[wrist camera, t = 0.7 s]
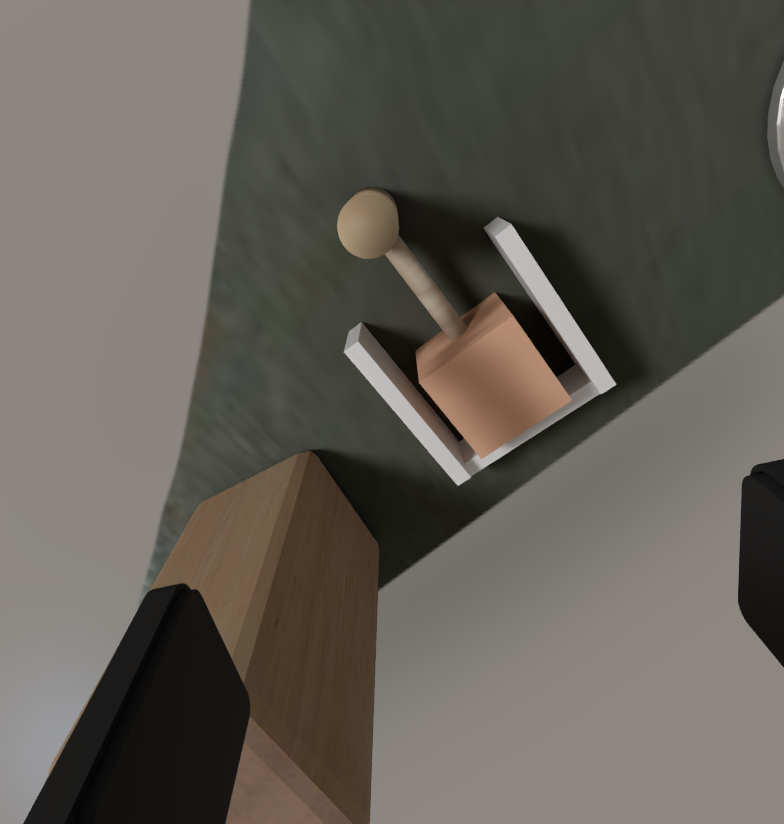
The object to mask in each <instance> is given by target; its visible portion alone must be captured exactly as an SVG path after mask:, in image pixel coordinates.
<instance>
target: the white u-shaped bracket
mask: <svg viewBox="0 0 784 824" xmlns="http://www.w3.org/2000/svg"><path fill="white" fill-rule="evenodd" d="M483 229H484V230H485V232H486V233H487V234H488V236H489V237H490V239H491V240H492V242H493V243H494V245H495V246H496V248H497V249H498V251H499V252H500V254H501V255H502V257H503V258H504V260H505V261H506V263H507V264H508V266H509V267H510V268H511V270H512V271H513V273H514V274H515V276H516V277H517V279H518V280H519V282H520V283H521V285H522V286H523V288H524V289H525V291H526V292H527V294H528V295H529V297H530V298H531V299H532V301H533V302H534V304H535V305H536V307H537V308H538V310H539V311H540V313H541V314H542V316H543V317H544V319H545V320H546V322H547V323H548V325H549V326H550V328H551V329H552V331H553V332H554V333H555V335H556V336H557V338H558V339H559V341H560V342H561V344H562V345H563V347H564V348H565V350H566V351H567V353H568V354H569V356H570V357H571V359H572V360H573V362H574V363H575V364H576V365H574V366H573V367H571V368H570V369H568V370H567V371H565V372H564V373H562V374H561V375H559V376H558V377H556V378H557V379H558V381H559V382H560V383H561V385H562V386H563V388H564V389H565V391H566V392H567V394H568V395H569V396H570V398H571V399H572V401H571V402H569V403H568V404H566V405H565V406H563V407H562V408H560V409H558V410H557V411H555V412H554V413H552V414H551V415H549V416H548V417H546V418H545V419H543V420H541V421H540V422H538V423H537V424H535V425H534V426H532V427H531V428H529V429H527V430H526V431H524V432H523V433H521V434H520V435H518V436H517V437H515V438H514V439H512V440H510V441H509V442H507V443H506V444H504V445H503V446H501V447H500V448H498V449H496V450H495V451H493V452H492V453H490V454H489V455H487V456H486V457H484V458H483V459H481V458H480V457H479V456H478V454H477V453H476V452H475V451H474V450H473V448H472V447H471V446H470V445H469V443H468V442H467V441H466V440H465V438H464V439H463V440H461V441H460V442H459V440H458V439H457V438H456V437H455V436H454V434H453V433H452V432H451V431H450V429H449V428H448V427H447V426H446V425H445V423H444V422H443V421H442V420H441V418H440V417H439V416H438V415H437V414H436V412H435V411H434V410H433V409H432V407H431V406H430V405H429V404H428V403H427V401H426V400H425V399H424V398H423V396H422V395H421V394H420V393H419V392H418V390H417V389H416V388H415V387H414V385H413V384H412V383H411V382H410V381H409V379H408V378H407V377H406V376H405V374H404V373H403V372H402V371H401V370H400V368H399V367H398V366H397V365H396V363H395V362H394V361H393V360H392V359H391V357H390V356H389V355H388V354H387V352H386V351H385V350H384V349H383V348H382V346H381V345H380V344H379V343H378V341H377V340H376V339H375V338H374V337H373V335H372V334H371V333H370V332H369V330H368V329H367V328H366V327H365V326H364V324H363V323H362V322H361V323H360V324H358V325H357V326H356V327H354V328H353V329H352V330H351V331H349V334H348V338H347V342H346V346H345V350H344V353H345V354H346V355H347V356H348V357H349V359H350V360H351V361H352V362H353V363H354V364H355V366H356V367H357V368H358V369H359V370H360V371H361V373H362V374H363V375H364V376H365V377H366V378H367V380H368V381H369V382H370V383H371V384H372V386H373V387H374V388H375V389H376V390H377V391H378V393H379V394H380V395H381V396H382V397H383V398H384V400H385V401H386V402H387V403H388V404H389V406H390V407H391V408H392V409H393V410H394V411H395V413H396V414H397V415H398V416H399V417H400V418H401V420H402V421H403V422H404V423H405V424H406V426H407V427H408V428H409V429H410V430H411V431H412V433H413V434H414V435H415V436H416V437H417V438H418V440H419V441H420V442H421V443H422V444H423V446H424V447H425V448H426V449H427V450H428V451H429V453H430V454H431V455H432V456H433V457H434V458H435V460H436V461H437V462H438V463H439V464H440V465H441V467H442V468H443V469H444V470H445V471H446V473H447V474H448V475H449V476H450V477H451V478H452V480H453V481H454V482H455V483H456V484H457V485H458V486H459V485H460V484H462V483H463V482H465V481H466V480H468V479H470V478H471V476H472V475H474V474H475V473H477V472H479V471H480V470H482V469H483V468H485V467H486V466H488V465H489V464H491V463H493V462H494V461H496V460H497V459H499V458H500V457H502V456H504V455H505V454H507V453H508V452H510V451H511V450H513V449H514V448H516V447H518V446H519V445H521V444H522V443H524V442H525V441H527V440H529V439H530V438H532V437H533V436H535V435H536V434H538V433H539V432H541V431H543V430H544V429H546V428H547V427H549V426H550V425H552V424H554V423H555V422H557V421H558V420H560V419H561V418H563V417H564V416H566V415H568V414H569V413H571V412H572V411H574V410H575V409H577V408H579V407H580V406H582V405H583V404H585V403H586V402H588V401H589V400H591V399H593V398H594V397H596V396H597V395H599V394H603V393H604V392H606V391H607V390H609V389H610V388H612V387H613V386H615V385H616V383H615V382H614V380H613V378H612V377H611V375H610V374H609V372H608V371H607V369H606V368H605V366H604V365H603V363H602V362H601V360H600V359H599V357H598V356H597V354H596V353H595V351H594V349H593V348H592V346H591V345H590V343H589V342H588V340H587V339H586V337H585V336H584V334H583V333H582V331H581V330H580V328H579V327H578V325H577V324H576V322H575V320H574V319H573V317H572V316H571V314H570V313H569V311H568V310H567V308H566V307H565V305H564V304H563V302H562V301H561V299H560V298H559V296H558V295H557V293H556V291H555V290H554V288H553V287H552V285H551V284H550V282H549V281H548V279H547V278H546V276H545V275H544V273H543V272H542V270H541V269H540V267H539V266H538V264H537V262H536V261H535V259H534V258H533V256H532V255H531V253H530V252H529V250H528V249H527V247H526V246H525V244H524V243H523V241H522V240H521V238H520V237H519V235H518V233H517V232H516V230H515V229H514V227H513V226H512V224H510V223H508V222H507V221H505V220H503V219H501V218H499V217H497V218H495V219H494V220H493V221H492V222H490V223H489V224H488V225H486V226H485V227H484V228H483Z"/></svg>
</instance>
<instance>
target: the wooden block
mask: <svg viewBox="0 0 784 824" xmlns="http://www.w3.org/2000/svg"><path fill="white" fill-rule="evenodd" d="M378 575H379V547H378V543H377V542H376V540H375V539H374V537H373V536H372V534H371V533H370V532H369V530H368V529H367V527H366V526H365V524H364V523H363V521H362V520H361V519H360V517H359V516H358V514H357V513H356V511H355V510H354V508H353V507H352V506H351V504H350V503H349V501H348V500H347V498H346V497H345V495H344V494H343V493H342V491H341V490H340V488H339V487H338V485H337V484H336V482H335V481H334V480H333V478H332V477H331V475H330V474H329V472H328V471H327V469H326V468H325V467H324V465H323V464H322V462H321V461H320V459H319V458H318V457H317V455H315V454H314V453H313V452H311V451H304V452H301V453H298V454H296V455H294V456H292V457H290V458H288V459H286V460H284V461H282V462H280V463H278V464H276V465H274V466H272V467H270V468H268V469H267V470H265V471H263V472H261V473H259V474H257V475H255V476H253V477H251V478H249V479H247V480H245V481H243V482H241V483H239V484H237V485H235V486H233V487H231V488H229V489H227V490H225V491H223V492H221V493H219V494H217V495H215V496H213V497H211V498H209V499H207V500H205V501H203V502H201V503H200V505H199V506H198V507H197V509H196V510H195V512H194V513H193V515H192V517H191V519H190V521H189V522H188V524H187V526H186V528H185V529H184V531H183V533H182V535H181V536H180V538H179V540H178V542H177V544H176V545H175V547H174V549H173V551H172V552H171V554H170V556H169V558H168V559H167V561H166V563H165V565H164V567H163V568H162V570H161V572H160V574H159V575H158V577H157V579H156V581H155V582H154V584H153V586H152V588H151V589H150V590H152V589H156V588H160V587H165V586H170V585H175V584H180V583H185V584H187V585H188V586H189V587H190V589H191V590H193V589H197V590H198V591H199V592H200V593H201V595H202V597H203V599H204V601H205V603H206V605H207V608H208V610H209V612H210V614H211V616H212V618H213V620H214V622H215V624H216V627H217V629H218V631H219V633H220V635H221V637H222V639H223V641H224V643H225V646H226V648H227V650H228V652H229V654H230V656H231V658H232V660H233V662H234V665H235V667H236V669H237V671H238V673H239V675H240V677H241V679H242V681H243V684H244V686H245V688H246V690H247V692H248V695H249V699H250V718H249V722H248V727H247V731H246V735H245V740H244V744H243V749H242V753H241V757H240V762H239V766H238V771H237V775H236V779H235V784H234V788H233V793H232V797H231V801H230V806H229V810H228V814H227V819H226V823H225V824H369V823H370V801H371V799H370V798H371V773H372V772H371V770H372V745H373V744H372V743H373V717H374V688H375V660H376V631H377V602H378ZM115 652H116V651H115ZM114 654H115V653H114ZM111 659H112V658H111ZM110 661H111V660H110ZM109 663H110V662H109ZM108 665H109V664H108ZM108 665H107V667H108ZM107 667H106V668H107ZM105 670H106V669H105ZM104 672H105V671H104ZM103 674H104V673H103ZM103 674H102V676H103ZM101 678H102V677H101ZM101 678H100V680H101ZM100 680H99V682H100ZM99 682H98V683H99ZM98 683H97V685H98ZM97 685H96V687H97ZM96 687H95V689H96ZM95 689H94V691H95ZM94 691H93V692H92V694H91V696H92V695H93V693H94ZM91 696H90V697H89V699H88V701H87V703H86V704H85V706H84V708H83V710H82V712H81V713H80V715H79V717H78V718H77V720H76V722H75V724H74V726H73V727H72V729H71V731H70V733H69V735H68V736H67V738H66V740H65V742H64V743H63V745H62V747H61V749H60V750H59V752H58V754H57V756H56V757H55V759H54V761H53V763H52V765H51V767H50V771H49V775H50V773H51V771H52V769H53V767H54V765H55V764H56V762H57V760H58V758H59V756H60V754H61V752H62V751H63V749H64V747H65V745H66V743H67V741H68V739H69V737H70V736H71V734H72V732H73V730H74V728H75V726H76V724H77V723H78V721H79V719H80V717H81V715H82V713H83V711H84V709H85V708H86V706H87V704H88V702H89V700H90V698H91ZM48 777H49V776H48Z"/></svg>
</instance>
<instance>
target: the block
mask: <svg viewBox="0 0 784 824" xmlns="http://www.w3.org/2000/svg"><path fill="white" fill-rule="evenodd" d="M337 229H338V235H339V238H340V240H341V242H342V244H343V245H344V247H345V248H346V249H347V250H348V251H349V252H350V253H352V254H353V255H355V256H357V257H360V258H364V259H373V258H377V257H380V256H382V255H384V254H385V255H386V256H387V258H388V259H389V260H390V262H391V263H392V264H393V266H394V267H395V268H396V269H397V271H398V272H399V273H400V275H401V276H402V277H403V279H404V280H405V281H406V283H407V284H408V285H409V287H410V288H411V289H412V290H413V292H414V293H415V294H416V296H417V297H418V298H419V300H420V301H421V302H422V304H423V305H424V306H425V308H426V309H427V310H428V312H429V313H430V314H431V315H432V317H433V318H434V319H435V321H436V322H437V323H438V325H439V326H440V327H441V329H442V331H441V332H440V333H438V334H437V335H436V336H434V337H433V338H432V339H430V340H429V341H427V342H426V343H425V344H423V345H422V346H421V347H419V348H418V349H416V350H415V353H416V361H417V370H418V378H419V383H420V384H421V386H422V387H423V388H424V389H425V390H426V392H427V393H428V394H429V395H430V397H431V398H432V399H433V400H434V402H435V403H436V404H437V405H438V406H439V408H440V409H441V410H442V411H443V413H444V414H445V415H446V416H447V418H448V419H449V420H450V421H451V422H452V424H453V425H454V426H455V427H456V429H457V430H458V431H459V432H460V434H461V435H462V436H463V437H464V438H465V440H466V441H467V442H468V443H469V445H470V446H471V447H472V448H473V450H474V451H475V452H476V453H477V454H478V456H479V457H480V458H481V459H483V458H484V457H486V456H487V455H489V454H490V453H492V452H493V451H495V450H496V449H498V448H500V447H501V446H503V445H504V444H506V443H507V442H509V441H510V440H512V439H514V438H515V437H517V436H518V435H520V434H521V433H523V432H524V431H526V430H527V429H529V428H531V427H532V426H534V425H535V424H537V423H538V422H540V421H541V420H543V419H545V418H546V417H548V416H549V415H551V414H552V413H554V412H555V411H557V410H558V409H560V408H562V407H563V406H565V405H566V404H568V403H569V402H571V401H572V399H571V398H570V396H569V395H568V394H567V392H566V391H565V389H564V388H563V386H562V385H561V383H560V382H559V381H558V379H557V378H556V376H555V375H554V373H553V372H552V371H551V369H550V368H549V366H548V365H547V363H546V362H545V361H544V359H543V358H542V356H541V355H540V353H539V352H538V351H537V349H536V348H535V346H534V345H533V343H532V342H531V341H530V339H529V338H528V336H527V335H526V333H525V332H524V331H523V329H522V328H521V326H520V325H519V323H518V322H517V321H516V319H515V318H514V316H513V315H512V314H511V312H510V311H509V310H508V308H507V307H506V306H505V305H504V303H503V302H502V301H501V299H500V298H499V297H498V295H497V294H496V293H495V292H494V293H493V294H492V295H490V296H489V297H487V298H486V299H485V300H483V301H482V302H481V303H479V304H478V305H477V306H475V307H474V308H472V309H471V310H470V311H468V312H467V313H466V314H464V315H463V316H462V317H459V316H458V314H457V313H456V312H455V310H454V309H453V308H452V306H451V305H450V303H449V302H448V301H447V299H446V298H445V297H444V295H443V294H442V293H441V291H440V290H439V289H438V287H437V286H436V285H435V283H434V282H433V281H432V279H431V278H430V276H429V275H428V274H427V272H426V271H425V270H424V268H423V267H422V266H421V264H420V263H419V262H418V260H417V259H416V258H415V256H414V255H413V254H412V252H411V251H410V249H409V248H408V247H407V245H406V244H405V243H404V241H403V240H402V239H401V237H400V236H399V235H398V233H399V220H398V211H397V206H396V203H395V201H394V199H393V197H392V196H391V195H390V194H389V193H388V192H387V191H385V190H383V189H381V188H378V187H368V188H364V189H362V190H360V191H359V192H357V193H356V194H355V195H354V196H353V197H352V198H351V199H350V200H349V201H348V202H347V203H346V204H345V205H344V207H343V208H342V210H341V212H340V214H339V217H338V223H337Z"/></svg>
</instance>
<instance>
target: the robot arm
mask: <svg viewBox="0 0 784 824" xmlns="http://www.w3.org/2000/svg"><path fill="white" fill-rule="evenodd" d="M767 139H768V146H769V153H770V159H771V162H772V165H773V168H774V170H775V173H776V176H777V178H778V180H779V182H780V183H781V185H782V186H783V188H784V61H783V64H782V66H781V69H780V72H779V74H778V77H777V80H776V82H775V85H774V88H773V93H772V98H771V102H770V107H769V112H768V132H767ZM741 499H742V500H741V529H740V557H739V586H738V603H739V607H740V610H741V613H742V615H743V617H744V619H745V620H746V622H747V623H748V624H749V626H750V627H751V628H752V629H753V631H754V632H755V633H756V634H757V635H758V637H759V638H760V639H761V640H762V642H763V643H764V644H765V645H766V646H767V648H768V649H769V650H770V651H771V652H772V654H773V655H774V656H775V657H776V659H777V660H778V661H779V662H780V663H781V665H782V666H783V667H784V459H782V460H778V461H772V462H768V463H763V464H758V465H756V466H754V467H753V468H752V471H751V474H750V475H749V476H746V477H745V478H744V479H743V482H742V498H741ZM249 718H250V699H249V695H248V692H247V690H246V688H245V686H244V684H243V681H242V679H241V677H240V675H239V673H238V671H237V669H236V667H235V665H234V662H233V660H232V658H231V656H230V654H229V652H228V650H227V648H226V646H225V643H224V641H223V639H222V637H221V635H220V633H219V631H218V629H217V627H216V624H215V622H214V620H213V618H212V616H211V614H210V612H209V610H208V608H207V605H206V603H205V601H204V599H203V597H202V595H201V593H200V592H199V591H198V590H197V589H193V590H191V589H190V587H189V586H188V585H187V584H185V583H180V584H175V585H170V586H165V587H160V588H156V589H152V590H150V591H149V592H148V593H147V594H146V596H145V598H144V599H143V601H142V603H141V605H140V607H139V609H138V611H137V613H136V614H135V616H134V618H133V620H132V622H131V624H130V626H129V627H128V629H127V631H126V633H125V635H124V637H123V639H122V640H121V642H120V644H119V646H118V648H117V650H116V652H115V654H114V655H113V657H112V659H111V661H110V663H109V665H108V667H107V668H106V670H105V672H104V674H103V676H102V678H101V680H100V682H99V683H98V685H97V687H96V689H95V691H94V693H93V695H92V696H91V698H90V700H89V702H88V704H87V706H86V708H85V709H84V711H83V713H82V715H81V717H80V719H79V721H78V723H77V724H76V726H75V728H74V730H73V732H72V734H71V736H70V737H69V739H68V741H67V743H66V745H65V747H64V749H63V751H62V752H61V754H60V756H59V758H58V760H57V762H56V764H55V765H54V767H53V769H52V771H51V773H50V775H49V777H48V779H47V780H46V782H45V784H44V786H43V788H42V790H41V792H40V793H39V795H38V797H37V799H36V801H35V803H34V805H33V806H32V808H31V811H30V812H29V814H28V816H27V818H26V820H25V821H24V823H23V824H225V823H226V819H227V814H228V810H229V806H230V801H231V797H232V793H233V788H234V784H235V779H236V775H237V771H238V766H239V762H240V757H241V753H242V749H243V744H244V740H245V735H246V731H247V727H248V722H249Z"/></svg>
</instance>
